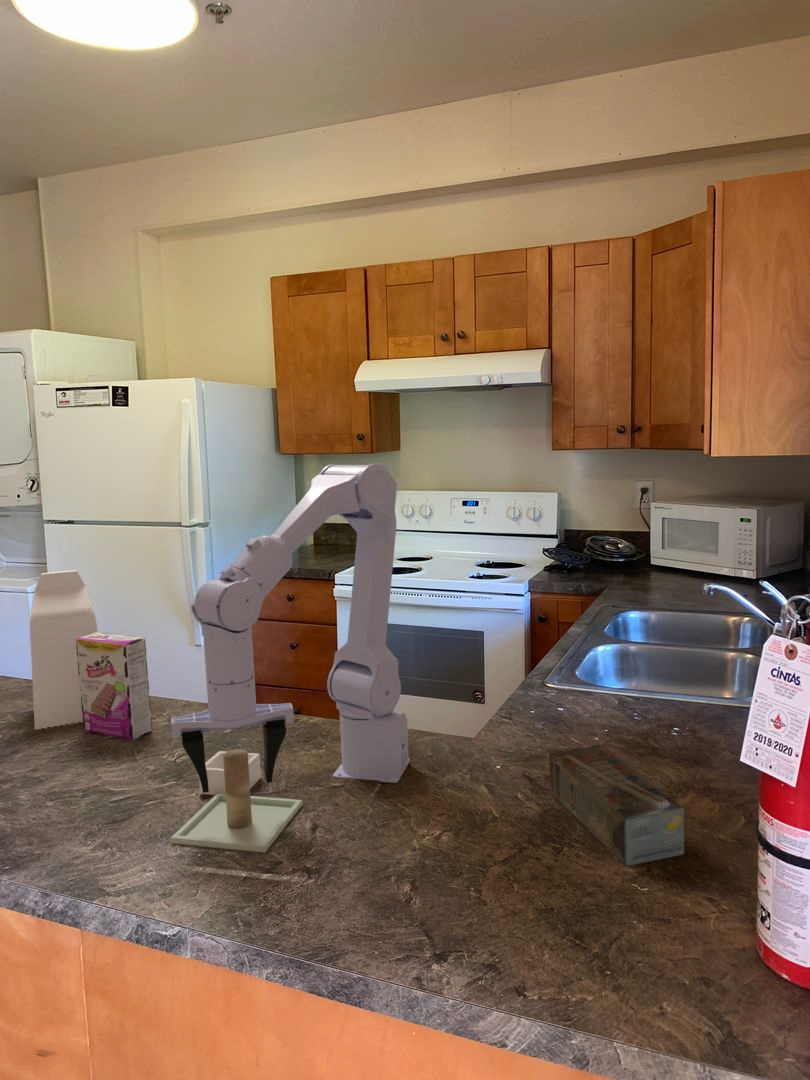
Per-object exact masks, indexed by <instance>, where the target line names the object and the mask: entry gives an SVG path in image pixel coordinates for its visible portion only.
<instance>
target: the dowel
mask: <svg viewBox="0 0 810 1080" xmlns="http://www.w3.org/2000/svg"><path fill="white" fill-rule="evenodd" d="M248 753H249V752H248V751H247V750H246V749H242V748H241V749H239V748H238V749H237V748H236V749H231V750H228V751H227V752H226V753H224V754H223V763H224V778H225V794H226V809H227V825H228V827H229V828H232V829H242V828H245V827H248V826H249V825H250V824H251V823H252V813H251V796H252V795H251V789H250V780H249V763H248Z"/></svg>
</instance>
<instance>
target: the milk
mask: <svg viewBox="0 0 810 1080" xmlns="http://www.w3.org/2000/svg"><path fill="white" fill-rule="evenodd" d="M93 605H94V604H93V603H92V599H91V596H90V593H89V591H88V589H87V585H86V584H85V582H84V581H83V579H82V576H81V575H80V573H79V571H78V570H77V569H74V570H73V569H72V570H65V571H64V570H61V571H54V572H53V571H52V572H51V571H49V572H42V573H40V576H39V578H38V581H37V583H36V586H35V589H34V591H33V597H32V603H31V609H30V619H29V636H30V638H29V639H30V656H31V679H32V680H31V681H32V698H33V699H32V700H33V716H34V717H33V718H34V720H33V721H34V731H36V729H38V730H43V729H42V728H44V729H48V728H47V727H51V728H54V727H53V726H57V727H60V726H59V725H63V726H66V725H65V724H69V725H72V724H71V723H75V724H78V723H77V722H81V723H83V715H82V704H81V694H80V681H79V671H78V660H77V650H76V640H75V639H77V638H79V637H82V636H85V635H88V634H92V633H96V632H98V625H97V624H98V623H97V619H96V618H97V617H96V613H95V609H94V606H93Z"/></svg>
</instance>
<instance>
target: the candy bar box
mask: <svg viewBox="0 0 810 1080" xmlns="http://www.w3.org/2000/svg"><path fill="white" fill-rule="evenodd" d="M75 640H76V650H77V660H78V671H79V681H80V694H81V704H82V715H83V722H82V725H83V732H85V733H91V734H95V735H102V736H107V737H112V738H116V739H123V740H124V739H125V740H128V741H135V740H137V739H138V738H137V737H139V736H141V737H142V735H143V736H145V735H146V733H147V734H149V733H151V732H152V731H153V723H152V711H151V710H152V709H151V699H150V685H149V684H150V683H149V674H148V672H149V671H148V660H147V659H148V658H147V657H148V656H147V647H146V645H147V644H146V637H141V636H132V635H124V634H123V635H122V634H115V633H107V632H106V633H105V632H96V633H92V634H88V635H85V636H82V637H79V638H77V639H75ZM144 734H145V735H144ZM136 738H137V739H136ZM139 738H140V737H139ZM134 739H135V740H134Z"/></svg>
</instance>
